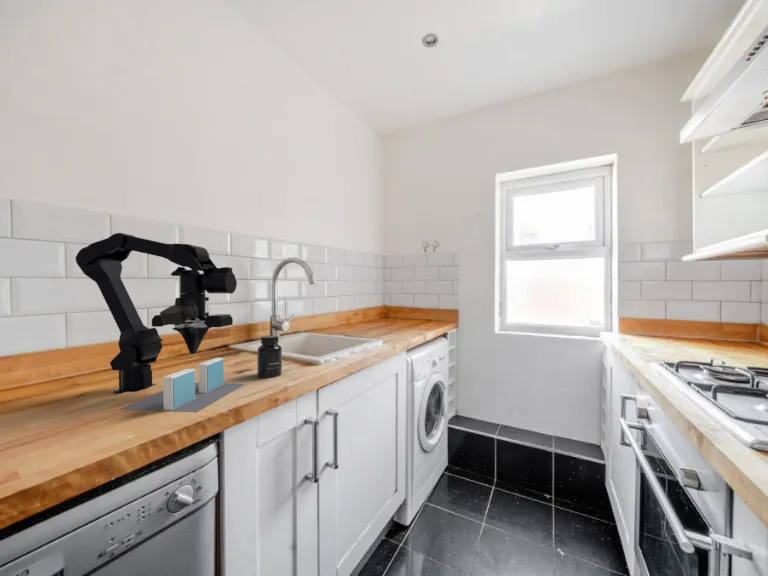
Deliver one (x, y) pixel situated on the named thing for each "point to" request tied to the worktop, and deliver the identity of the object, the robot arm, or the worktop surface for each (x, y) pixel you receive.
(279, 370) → the supplement bottle
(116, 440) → the worktop surface
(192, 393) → the tile near
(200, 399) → the mat
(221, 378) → the tile far
